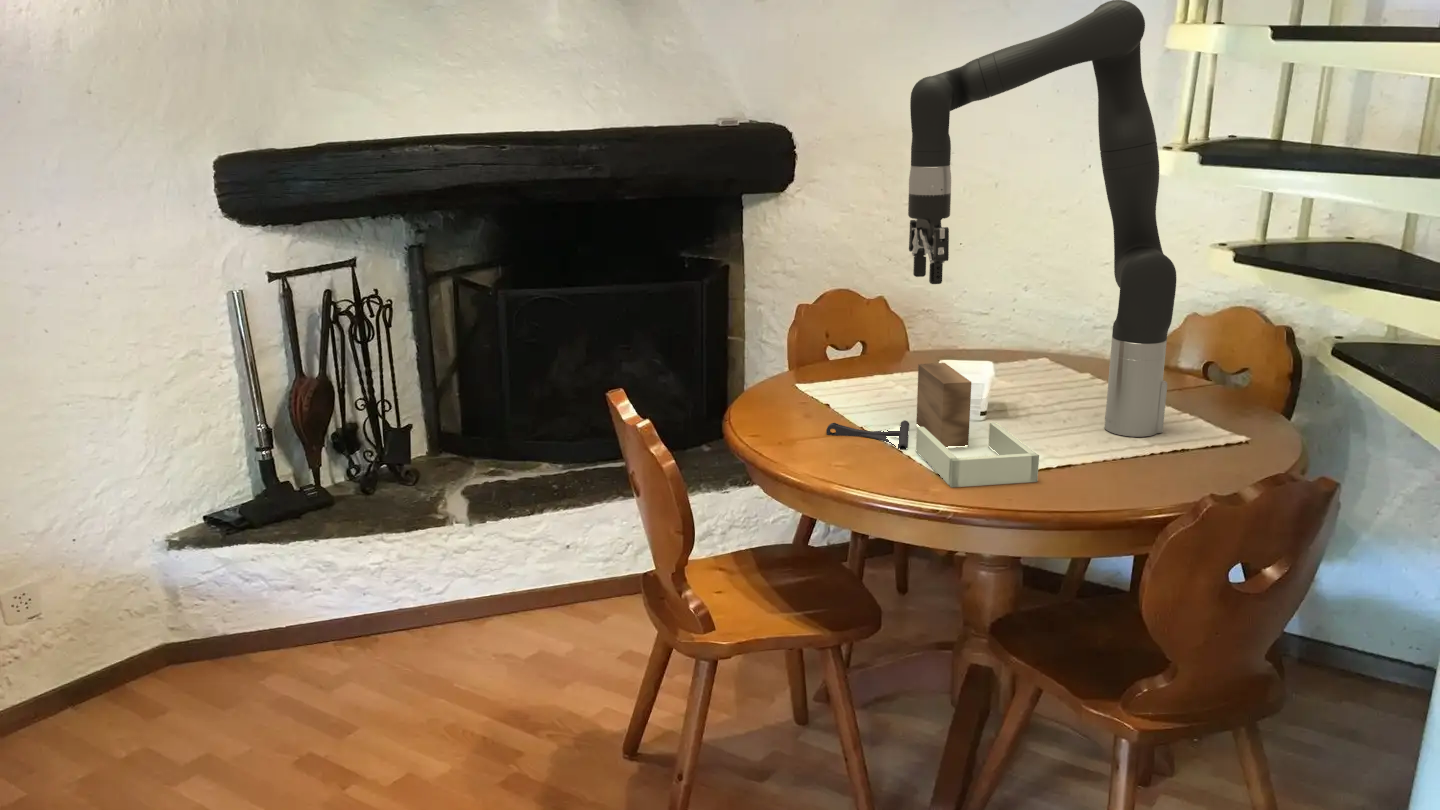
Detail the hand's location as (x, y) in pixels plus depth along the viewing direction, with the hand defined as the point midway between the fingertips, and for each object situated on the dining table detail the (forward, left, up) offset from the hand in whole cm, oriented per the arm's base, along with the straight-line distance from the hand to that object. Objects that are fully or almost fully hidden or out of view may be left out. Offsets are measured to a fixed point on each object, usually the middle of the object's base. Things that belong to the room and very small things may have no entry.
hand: (927, 280), depth 205 cm
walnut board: (0, +11, -27) cm, 29 cm away
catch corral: (0, +27, -27) cm, 38 cm away
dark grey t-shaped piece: (+13, +8, -28) cm, 32 cm away
